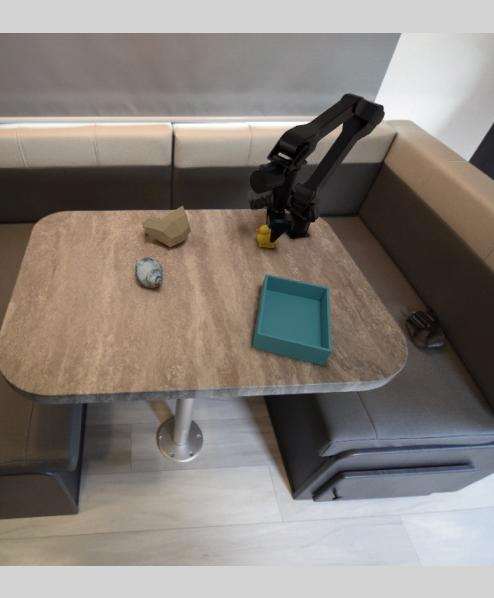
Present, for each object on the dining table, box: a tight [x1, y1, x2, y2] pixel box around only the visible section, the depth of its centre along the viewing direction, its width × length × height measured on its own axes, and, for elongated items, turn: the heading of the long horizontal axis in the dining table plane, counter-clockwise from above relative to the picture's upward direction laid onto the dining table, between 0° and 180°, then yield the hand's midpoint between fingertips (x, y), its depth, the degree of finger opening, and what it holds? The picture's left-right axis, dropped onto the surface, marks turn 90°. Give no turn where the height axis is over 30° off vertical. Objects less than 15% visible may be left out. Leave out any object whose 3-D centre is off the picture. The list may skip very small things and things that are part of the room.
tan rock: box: [141, 205, 192, 248], centre depth 102 cm, size 15×11×12 cm
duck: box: [255, 224, 282, 249], centre depth 103 cm, size 7×4×6 cm, turn 84°
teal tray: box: [251, 274, 333, 366], centre depth 82 cm, size 20×15×5 cm
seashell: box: [135, 256, 163, 289], centre depth 91 cm, size 6×8×12 cm
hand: (269, 233), depth 102 cm, fingers open, 9 cm apart
